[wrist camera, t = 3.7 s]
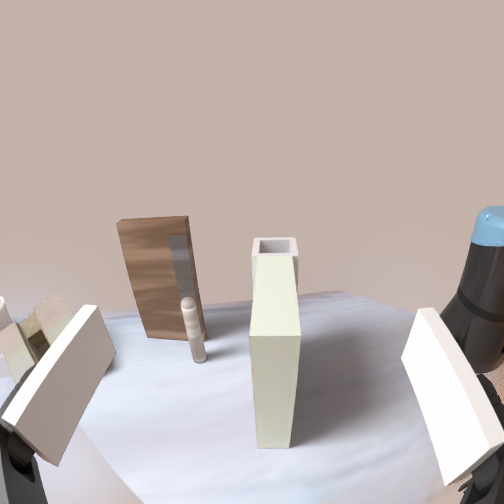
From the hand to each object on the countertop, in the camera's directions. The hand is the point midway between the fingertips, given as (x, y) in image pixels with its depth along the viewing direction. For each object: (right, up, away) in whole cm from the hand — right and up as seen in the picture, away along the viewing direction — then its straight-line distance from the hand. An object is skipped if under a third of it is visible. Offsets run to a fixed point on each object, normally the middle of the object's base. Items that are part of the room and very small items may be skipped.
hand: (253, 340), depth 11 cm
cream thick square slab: (+3, -15, +23) cm, 28 cm away
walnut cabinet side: (-12, -11, +32) cm, 36 cm away
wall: (-32, -16, +26) cm, 44 cm away
